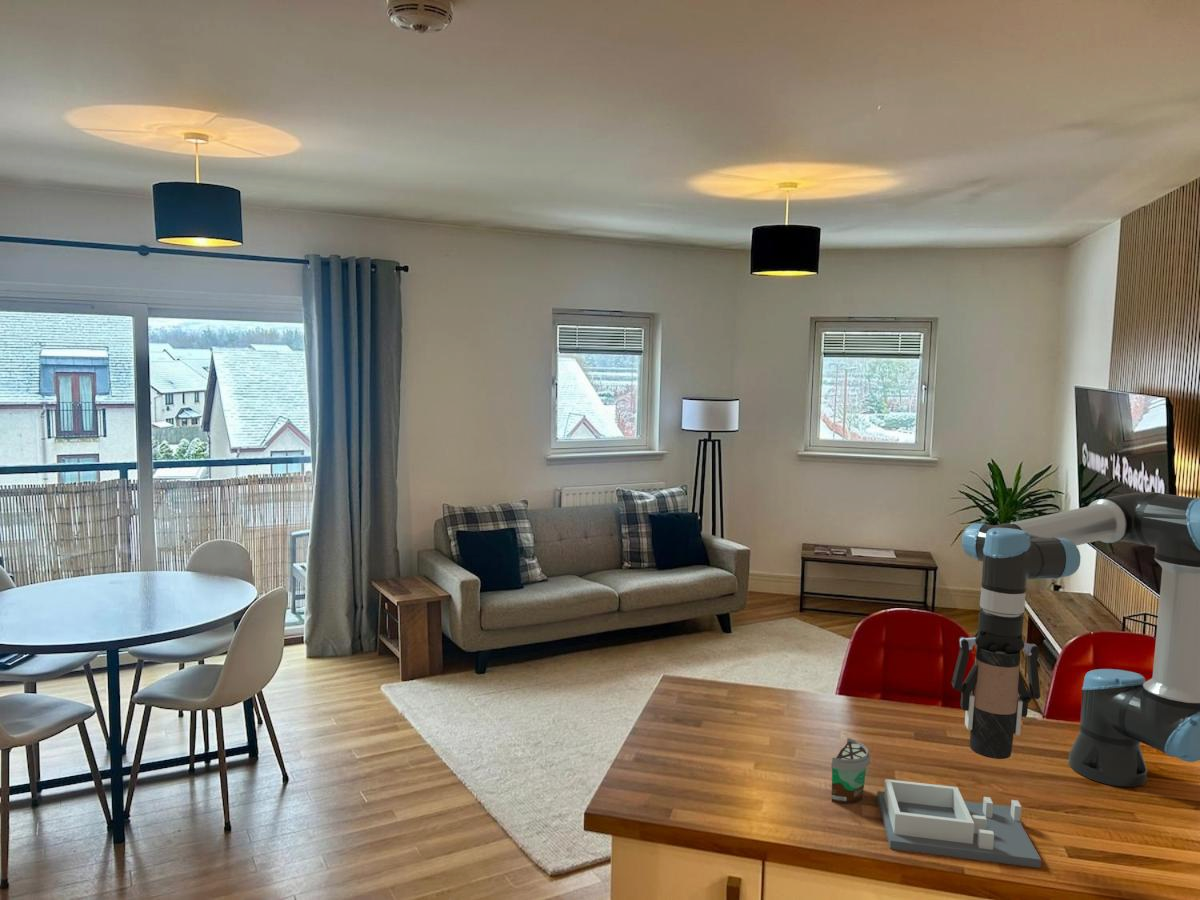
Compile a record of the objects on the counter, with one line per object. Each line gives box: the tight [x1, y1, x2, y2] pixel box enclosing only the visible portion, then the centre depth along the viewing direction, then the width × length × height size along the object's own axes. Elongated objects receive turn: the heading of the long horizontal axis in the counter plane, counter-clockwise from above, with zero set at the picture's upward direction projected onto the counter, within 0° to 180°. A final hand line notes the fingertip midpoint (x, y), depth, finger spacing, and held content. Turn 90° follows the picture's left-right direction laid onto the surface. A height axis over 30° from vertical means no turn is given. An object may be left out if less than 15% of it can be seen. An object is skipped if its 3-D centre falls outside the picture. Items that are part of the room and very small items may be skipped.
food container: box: [830, 737, 871, 805], centre depth 173 cm, size 12×6×10 cm, turn 148°
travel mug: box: [969, 645, 1021, 760], centre depth 156 cm, size 8×8×20 cm
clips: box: [972, 796, 1023, 850], centre depth 159 cm, size 10×14×3 cm
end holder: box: [883, 778, 974, 844], centre depth 162 cm, size 14×14×4 cm
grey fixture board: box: [876, 790, 1042, 869], centre depth 161 cm, size 26×19×2 cm
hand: (991, 729), depth 156 cm, fingers closed on travel mug, 8 cm apart
